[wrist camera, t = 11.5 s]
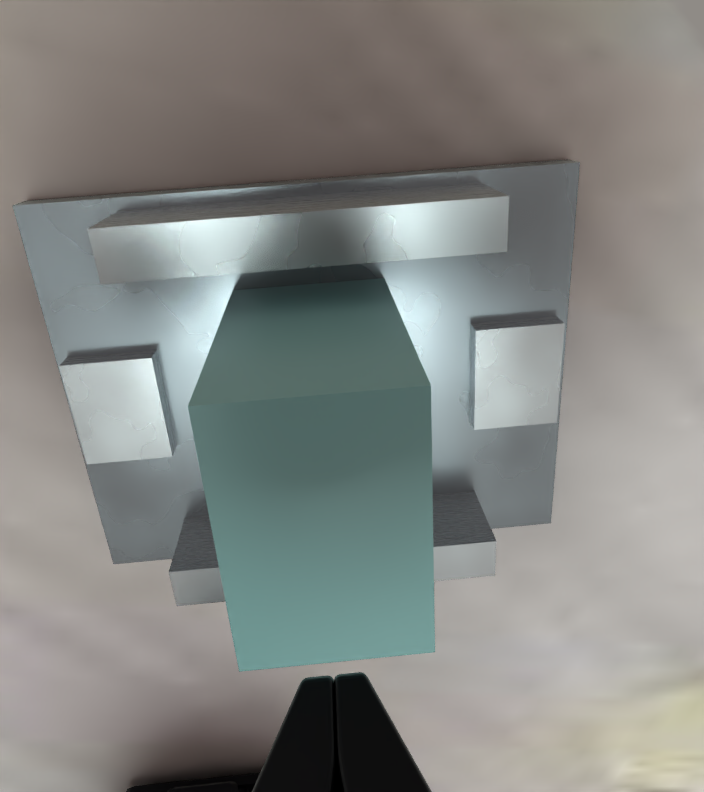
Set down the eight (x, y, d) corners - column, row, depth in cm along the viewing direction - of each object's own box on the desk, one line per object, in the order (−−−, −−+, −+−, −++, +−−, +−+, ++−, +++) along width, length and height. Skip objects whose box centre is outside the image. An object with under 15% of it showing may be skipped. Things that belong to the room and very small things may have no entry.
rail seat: (542, 508, 21) (580, 575, 18) (120, 547, 21) (89, 622, 18) (568, 159, 17) (624, 172, 14) (25, 201, 16) (-38, 224, 13)
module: (394, 471, 19) (437, 651, 13) (259, 483, 19) (236, 672, 13) (386, 277, 17) (433, 385, 11) (230, 290, 17) (184, 406, 10)
